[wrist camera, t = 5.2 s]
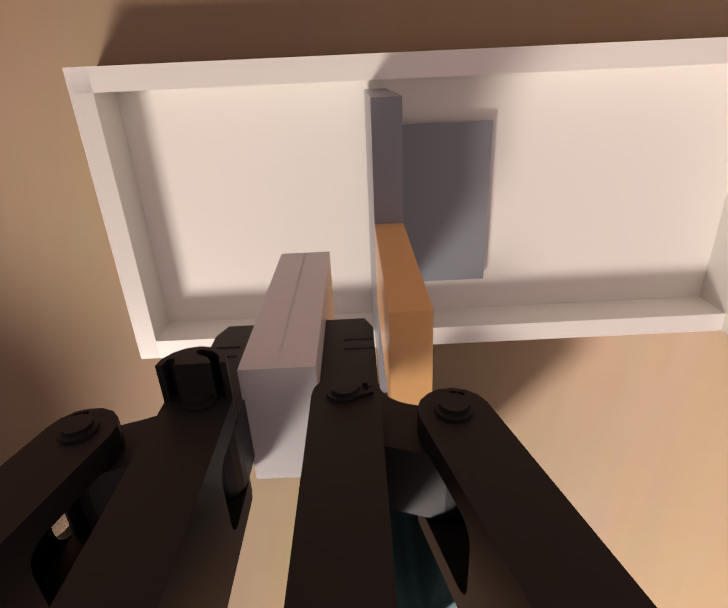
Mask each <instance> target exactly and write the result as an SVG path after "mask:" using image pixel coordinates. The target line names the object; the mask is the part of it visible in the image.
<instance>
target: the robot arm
mask: <svg viewBox="0 0 728 608" xmlns="http://www.w3.org/2000/svg"><path fill="white" fill-rule="evenodd" d="M155 368H156V372H157V375H158V379H159V383H160V387H161V391H162V394H163V398H164V404H163V406H162V408H161V409H160V411H159V413H158V415H157V416H154V417H151V418H148V419H144V420H140V421H136V422H132V423H128V424H124V425H120V421H119V418H118V416H117V415H116V414H115V413H114V412H113V411H111V410H108V409H104V408H95V409H86V410H82V411H81V410H80V411H77V412H74V413H72V414H70V415H68V416H65V417H63V418H61V419H59V420H58V421H56V422H55V423H53V424H52V425H50V426H49V427H47V428H46V429H45V430H44V431H42V432H41V433H40V434H39V435H38V436H36V437H35V438H34V439H33V440H32V441H30V442H29V443H28V444H27V445H26V446H24V447H23V448H22V449H21V450H20V451H18V452H17V453H16V454H15V455H14V456H12V457H11V458H10V459H9V460H8V461H6V462H5V463H4V464H3V465H2V466H0V608H227V607H228V603H229V598H230V594H231V589H232V585H233V581H234V576H235V572H236V568H237V563H238V559H239V555H240V550H241V546H242V541H243V537H244V533H245V528H246V524H247V520H248V515H249V511H250V507H251V502H252V487H251V482H250V473H251V469H252V465H253V461H254V466H255V471H256V476H257V479H269V478H288V477H301V479H300V487H299V495H298V502H297V510H296V518H295V526H294V534H293V541H292V549H291V557H290V565H289V573H288V580H287V588H286V596H285V604H284V608H398V606H397V594H396V582H395V570H394V558H393V546H392V534H391V522H390V510H389V509H393V510H398V511H402V512H406V513H411V514H415V515H418V519H419V523H420V526H421V528H422V530H423V532H424V535H425V537H426V539H427V541H428V544H429V546H430V548H431V550H432V552H433V555H434V557H435V559H436V561H437V564H438V566H439V568H440V570H441V572H442V575H443V577H444V579H445V581H446V584H447V586H448V588H449V590H450V592H451V595H452V597H453V599H454V601H455V604H456V606H457V608H657V607H656V606H655V605H654V603H653V602H652V601H651V600H650V598H649V597H648V596H647V595H646V594H645V592H644V591H643V590H642V589H641V588H640V586H639V585H638V584H637V583H636V582H635V580H634V579H633V578H632V577H631V575H630V574H629V573H628V572H627V571H626V569H625V568H624V567H623V566H622V565H621V563H620V562H619V561H618V560H617V559H616V557H615V556H614V555H613V554H612V552H611V551H610V550H609V549H608V548H607V546H606V545H605V544H604V543H603V542H602V540H601V539H600V538H599V537H598V536H597V534H596V533H595V532H594V531H593V529H592V528H591V527H590V526H589V525H588V523H587V522H586V521H585V520H584V519H583V517H582V516H581V515H580V514H579V513H578V511H577V510H576V509H575V508H574V506H573V505H572V504H571V503H570V502H569V500H568V499H567V498H566V497H565V496H564V494H563V493H562V492H561V491H560V490H559V488H558V487H557V486H556V485H555V483H554V482H553V481H552V480H551V479H550V477H549V476H548V475H547V474H546V473H545V471H544V470H543V469H542V468H541V467H540V465H539V464H538V463H537V462H536V460H535V459H534V458H533V457H532V456H531V454H530V453H529V452H528V451H527V450H526V448H525V447H524V446H523V445H522V444H521V442H520V441H519V440H518V439H517V437H516V436H515V435H514V434H513V433H512V431H511V430H510V429H509V428H508V427H507V425H506V424H505V423H504V422H503V420H502V419H501V418H500V417H499V416H498V414H497V413H496V412H495V411H494V410H493V408H492V407H491V406H490V405H489V404H488V402H486V401H485V400H484V399H483V398H482V397H480V396H479V395H477V394H475V393H472V392H470V391H467V390H462V389H455V388H448V389H439V390H436V391H433V392H430V393H428V394H427V395H425V396H424V397H423V398H422V399H421V400H420V402H419V405H413V404H407V403H403V402H399V401H397V400H394V399H392V398H390V397H389V396H387V395H386V394H384V393H383V392H382V390H381V389H380V388H379V384H378V379H377V367H376V355H375V343H374V331H373V326H372V325H371V324H370V323H369V322H368V321H367V320H366V319H365V318H356V319H337V320H335V313H334V301H333V288H332V276H331V263H330V251H327V252H307V253H288V254H281V257H280V259H279V262H278V264H277V267H276V270H275V272H274V275H273V278H272V280H271V283H270V285H269V288H268V291H267V293H266V296H265V298H264V301H263V304H262V306H261V309H260V312H259V314H258V317H257V319H256V322H255V325H247V326H229V327H228V328H226V329H225V330H224V331H223V332H221V333H220V334H219V335H218V336H216V338H215V340H214V342H213V344H212V346H211V347H206V346H198V347H191V348H186V349H183V350H179V351H176V352H173V353H172V354H170V355H168V356H166V357H164V358H163V359H161V360H160V361H159V362H158V363H157V364H156V365H155ZM64 513H65V515H66V518H67V520H68V522H69V527H68V528H67V529H66V530H65V531H64V532H63V533H61V534H60V535H59V536H57V537H56V536H55V535H54V533H53V531H52V529H51V527H52V526H53V525H54V524H55V523H56V522H57V520H58V519H59V518H60V517H61V516H62V515H63V514H64Z"/></svg>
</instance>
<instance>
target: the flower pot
mask: <svg viewBox="0 0 728 608" xmlns="http://www.w3.org/2000/svg"><path fill="white" fill-rule="evenodd" d="M389 510H390V522H391V534H392V546H393V558H394V570H395V582H396V594H397V606H398V608H456V607H457V606H456V604H455V601H454V599H453V597H452V595H451V592H450V590H449V588H448V586H447V584H446V581H445V579H444V577H443V575H442V572H441V570H440V568H439V566H438V564H437V561H436V559H435V557H434V555H433V552H432V550H431V548H430V546H429V544H428V541H427V539H426V537H425V535H424V532H423V530H422V528H421V526H420V523H419V519H418V515H415V514H411V513H406V512H402V511H398V510H393V509H389Z"/></svg>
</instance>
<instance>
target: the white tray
mask: <svg viewBox="0 0 728 608" xmlns="http://www.w3.org/2000/svg"><path fill="white" fill-rule="evenodd" d="M62 69H63V73H64V76H65V80H66V84H67V87H68V91H69V95H70V98H71V102H72V106H73V109H74V113H75V117H76V120H77V124H78V128H79V131H80V135H81V139H82V142H83V146H84V150H85V154H86V157H87V161H88V165H89V168H90V172H91V176H92V179H93V183H94V187H95V190H96V194H97V198H98V201H99V205H100V209H101V212H102V216H103V220H104V223H105V227H106V231H107V234H108V238H109V242H110V245H111V249H112V253H113V256H114V260H115V264H116V267H117V271H118V275H119V278H120V282H121V286H122V289H123V293H124V297H125V301H126V304H127V308H128V312H129V315H130V319H131V323H132V326H133V330H134V334H135V337H136V341H137V345H138V348H139V352H140V356H141V359H147V358H164V357H166V356H168V355H170V354H172V353H173V352H176V351H179V350H183V349H186V348H191V347H198V346H206V347H211V346H212V344H213V342H214V340H215V338H216V336H218V335H219V334H220V333H221V332H223V331H224V330H225V329H226V328H228V327H229V326H247V325H255V322H256V319H257V317H258V314H259V312H260V309H261V306H262V304H263V301H264V298H265V296H266V293H267V291H268V288H269V285H270V283H271V280H272V278H273V275H274V272H275V270H276V267H277V264H278V262H279V259H280V257H281V254H288V253H307V252H327V251H330V263H331V276H332V288H333V301H334V313H335V320H337V319H356V318H365V319H366V320H367V321H368V322H369V323H370V324H371V325H372V326H373V331H374V343H375V347H376V341H375V330H374V320H373V309H372V284H371V258H370V232H369V206H368V180H367V154H366V128H365V102H364V89H378V88H386V89H389V90H391V91H393V92H395V93H397V94H399V95H401V96H402V124H416V123H438V122H459V121H480V120H493V134H492V149H491V165H490V180H489V196H488V211H487V226H486V242H485V257H484V272H483V279H462V280H442V281H424V284H425V287H426V290H427V293H428V295H429V298H430V301H431V304H432V307H433V310H434V323H433V344H453V343H473V342H493V341H514V340H534V339H554V338H575V337H595V336H615V335H636V334H656V333H676V332H697V331H717V330H721V331H723V332H724V333H726V334H727V335H728V37H715V38H694V39H672V40H650V41H629V42H607V43H586V44H564V45H543V46H521V47H499V48H478V49H456V50H435V51H413V52H391V53H370V54H348V55H327V56H305V57H284V58H262V59H240V60H219V61H197V62H176V63H154V64H132V65H111V66H89V67H68V68H62Z"/></svg>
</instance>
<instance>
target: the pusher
mask: <svg viewBox="0 0 728 608" xmlns="http://www.w3.org/2000/svg"><path fill="white" fill-rule="evenodd" d="M364 102H365V128H366V154H367V180H368V206H369V232H370V258H371V284H372V309H373V320H374V330H375V341H376V352H377V362H378V373H379V384H380V389H381V390H382V392H383V393H384V392H388V396H389V397H390V398H392V399H394V400H397V401H399V402H403V403H407V404H413V405H419V402H420V400H421V399H422V398H423V397H424V396H425V395H427V394H428V393H430V392H432V374H433V323H434V310H433V307H432V304H431V301H430V298H429V295H428V293H427V290H426V287H425V284H424V281H442V280H462V279H483V272H484V257H485V242H486V226H487V211H488V196H489V180H490V165H491V149H492V134H493V120H480V121H459V122H438V123H416V124H402V96H401V95H399V94H397V93H395V92H393V91H391V90H389V89H386V88H378V89H364Z"/></svg>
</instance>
